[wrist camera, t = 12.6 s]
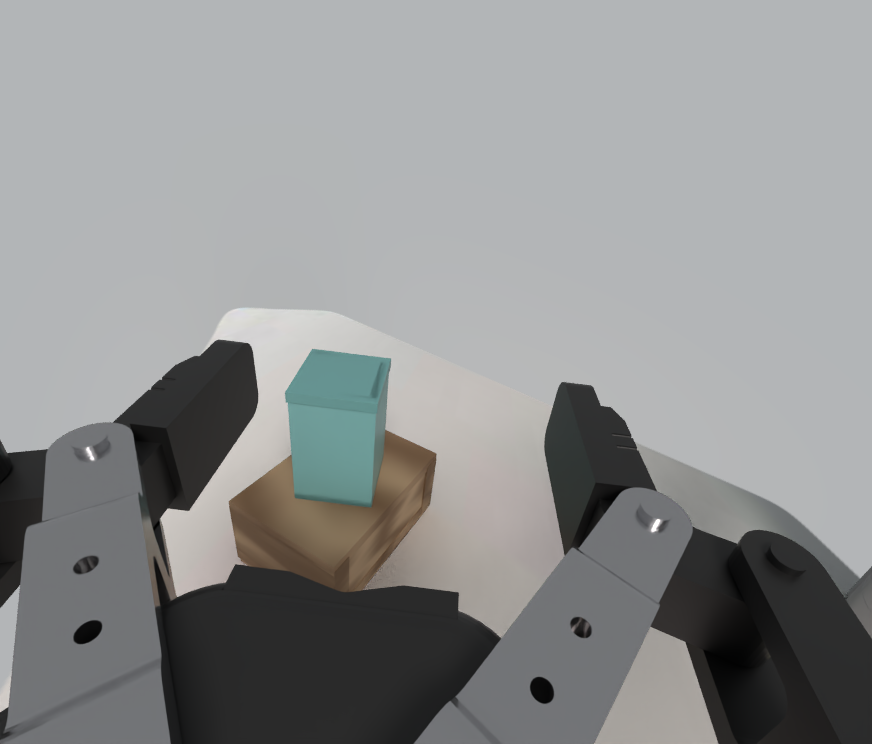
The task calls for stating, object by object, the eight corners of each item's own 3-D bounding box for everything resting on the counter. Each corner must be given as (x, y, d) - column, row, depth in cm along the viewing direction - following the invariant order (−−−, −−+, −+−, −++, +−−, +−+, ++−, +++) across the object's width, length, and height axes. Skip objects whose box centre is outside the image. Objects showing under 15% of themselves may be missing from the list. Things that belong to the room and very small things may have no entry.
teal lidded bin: (315, 447, 41) (312, 348, 36) (384, 455, 41) (391, 358, 36) (293, 498, 36) (285, 392, 30) (372, 508, 36) (377, 404, 30)
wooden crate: (347, 465, 49) (347, 412, 46) (429, 507, 46) (436, 453, 42) (238, 560, 38) (228, 501, 35) (335, 627, 35) (334, 568, 31)
